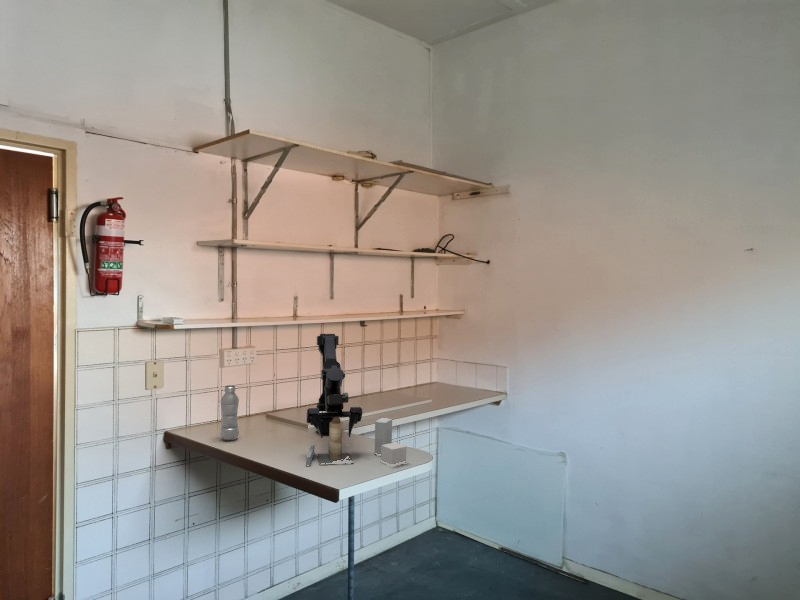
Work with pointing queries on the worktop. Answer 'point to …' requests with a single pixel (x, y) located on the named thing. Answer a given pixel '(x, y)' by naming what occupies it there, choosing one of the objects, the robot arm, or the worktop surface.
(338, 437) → the mill
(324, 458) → the mat
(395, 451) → the grey cube
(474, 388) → the worktop surface
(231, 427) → the plastic bottle
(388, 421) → the skincare box
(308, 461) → the rail
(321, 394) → the robot arm
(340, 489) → the worktop surface
